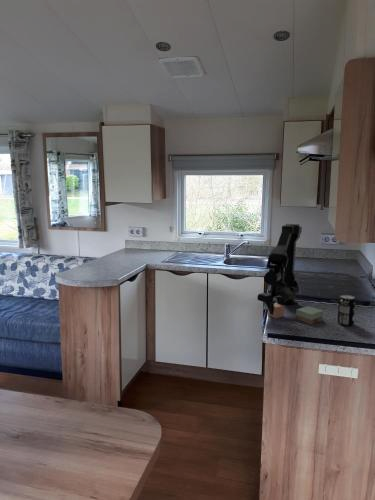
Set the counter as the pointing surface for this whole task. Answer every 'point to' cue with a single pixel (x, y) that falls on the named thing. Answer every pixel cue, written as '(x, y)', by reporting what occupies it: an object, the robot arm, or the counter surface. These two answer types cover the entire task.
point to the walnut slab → (309, 319)
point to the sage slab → (309, 312)
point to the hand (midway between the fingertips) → (275, 313)
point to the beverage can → (346, 310)
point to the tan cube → (277, 311)
